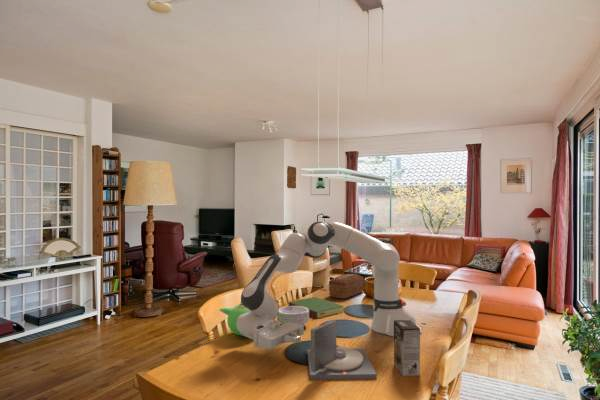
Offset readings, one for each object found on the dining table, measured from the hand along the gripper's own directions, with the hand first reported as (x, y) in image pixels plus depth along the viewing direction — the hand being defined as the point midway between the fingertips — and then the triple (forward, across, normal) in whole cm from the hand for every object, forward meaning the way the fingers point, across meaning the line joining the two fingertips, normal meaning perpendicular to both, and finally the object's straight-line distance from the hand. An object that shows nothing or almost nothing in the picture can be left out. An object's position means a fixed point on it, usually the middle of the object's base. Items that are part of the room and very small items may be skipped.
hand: (298, 339), depth 135 cm
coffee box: (+32, -20, -9) cm, 39 cm away
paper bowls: (-29, -32, -10) cm, 44 cm away
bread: (-40, -100, -10) cm, 109 cm away
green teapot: (-38, -11, -10) cm, 41 cm away
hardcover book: (-36, -60, -10) cm, 71 cm away
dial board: (+11, -10, -9) cm, 17 cm away
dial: (+11, -6, -8) cm, 15 cm away
